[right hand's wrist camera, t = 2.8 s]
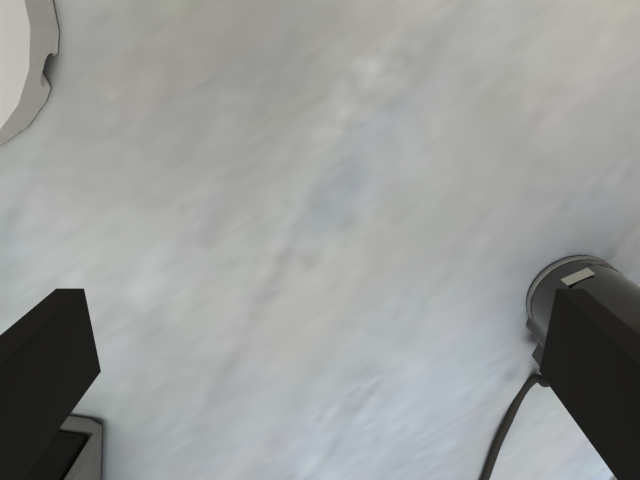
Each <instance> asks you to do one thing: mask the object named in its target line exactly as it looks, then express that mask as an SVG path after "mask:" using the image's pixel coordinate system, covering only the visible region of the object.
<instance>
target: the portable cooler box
mask: <svg viewBox="0 0 640 480" xmlns="http://www.w3.org/2000/svg"><path fill="white" fill-rule="evenodd" d="M101 460H102V425H100V424H98V423H96V422H95V421H93V420H91V419H87V418H81V417H74V416H68V417H67V419H66V420H65V422H64V423H63V424H62V426H61V427H60V428H59V430H58V431H57V433H56V434H55V435H54V437H53V438H52V439H51V441H50V442H49V444H48V445H47V446H46V448H45V449H44V451H43V452H42V453H41V455H40V456H39V457H38V459H37V460H36V462H35V463H34V464H33V466H32V467H31V469H30V470H29V471H28V473H27V474H26V475H25V477H24V478H23V480H101Z"/></svg>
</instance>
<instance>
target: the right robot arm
mask: <svg viewBox="0 0 640 480" xmlns="http://www.w3.org/2000/svg"><path fill="white" fill-rule="evenodd" d="M100 372H101V370H100V365H99V360H98V355H97V350H96V345H95V341H94V336H93V331H92V326H91V321H90V316H89V311H88V306H87V301H86V296H85V292H84V289H55V290H54V291H53V292H52V293H51V294H49V295H48V296H47V297H46V298H45V299H43V300H42V301H41V302H40V303H39V304H37V305H36V306H35V307H34V308H33V309H31V310H30V311H29V312H28V313H27V314H25V315H24V316H23V317H22V318H21V319H19V320H18V321H17V322H16V323H15V324H13V325H12V326H11V327H10V328H9V329H8V330H6V331H5V332H4V333H3V334H2V335H0V480H23V478H24V477H25V475H26V474H27V473H28V471H29V470H30V469H31V467H32V466H33V464H34V463H35V462H36V460H37V459H38V457H39V456H40V455H41V453H42V452H43V451H44V449H45V448H46V446H47V445H48V444H49V442H50V441H51V439H52V438H53V437H54V435H55V434H56V433H57V431H58V430H59V428H60V427H61V426H62V424H63V423H64V422H65V420H66V419H67V417H68V416H69V415H70V413H71V412H72V410H73V409H74V408H75V406H76V405H77V404H78V402H79V401H80V399H81V398H82V397H83V395H84V394H85V393H86V391H87V390H88V388H89V387H90V386H91V384H92V383H93V381H94V380H95V379H96V377H97V376H98V375H99V373H100ZM539 372H540V373H541V375H542V376H543V377H544V379H545V380H546V381H547V383H548V384H549V386H550V387H551V388H552V390H553V391H554V393H555V394H556V395H557V397H558V398H559V399H560V401H561V402H562V404H563V405H564V406H565V408H566V409H567V410H568V412H569V413H570V415H571V416H572V417H573V419H574V420H575V422H576V423H577V424H578V426H579V427H580V428H581V430H582V431H583V433H584V434H585V435H586V437H587V438H588V439H589V441H590V442H591V444H592V445H593V446H594V448H595V449H596V451H597V452H598V453H599V455H600V456H601V457H602V459H603V460H604V462H605V463H606V464H607V466H608V467H609V469H610V470H611V471H612V473H613V474H614V475H615V477H616V478H617V479H618V480H640V335H638V334H637V333H636V332H635V331H634V330H632V329H631V328H630V327H629V326H628V325H626V324H625V323H624V322H623V321H622V320H621V319H619V318H618V317H617V316H616V315H615V314H613V313H612V312H611V311H610V310H609V309H607V308H606V307H605V306H604V305H603V304H601V303H600V302H599V301H598V300H597V299H595V298H594V297H593V296H592V295H591V294H589V293H588V292H587V291H586V290H585V289H556V292H555V296H554V301H553V306H552V311H551V316H550V321H549V326H548V331H547V336H546V341H545V345H544V350H543V355H542V360H541V365H540V370H539Z"/></svg>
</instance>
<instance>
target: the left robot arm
mask: <svg viewBox="0 0 640 480" xmlns="http://www.w3.org/2000/svg"><path fill="white" fill-rule="evenodd" d="M556 289H585V290H586V291H587V292H588V293H589V294H591V295H592V296H593V297H594V298H595V299H597V300H598V301H599V302H600V303H601V304H603V305H604V306H605V307H606V308H607V309H609V310H610V311H611V312H612V313H613V314H615V315H616V316H617V317H618V318H619V319H621V320H622V321H623V322H624V323H625V324H626V325H628V326H629V327H630V328H631V329H632V330H634V331H635V332H636V333H637V334H638V335H640V287H639V286H638V285H637V284H635V283H634V282H632V281H631V280H629V279H628V278H626V277H625V276H623V275H622V274H621V273H620V272H618V271H617V270H615V269H614V268H613V267H612V266H611V265H609V264H608V263H606V262H605V261H603V260H601V259H598V258H595V257H591V256H573V257H568V258H565V259H562V260H560V261H558V262H556V263H554V264H552V265H550V266H549V267H548V268H546V269H545V270H544V271H543V272H542V273H541V274H540V275H539V276H538V277H537V278H536V280H535V281H534V282H533V284H532V286H531V288H530V290H529V293H528V297H527V311H528V315H529V317H530V318H529V321H528V323H527V325H526V326H527V328H528V329H529V330H530V332H531V333H532V334H533V335H534V337H535V338H536V339H537V340H538V342H539V343H538V345H537V347H536V349H535V350H534V352H533V354H532V356H533V358H534V359H535V360H536V362H537V363H538V365H539V366H540V365H541V360H542V355H543V350H544V345H545V341H546V336H547V331H548V326H549V321H550V316H551V311H552V306H553V301H554V296H555V292H556ZM537 382H538V383H539V384H540V385H541V386H543V387H549V384H548V383H547V381H546V380H545V379H544V377H543V376H542V375H541V374H534V375H533V376H531V377H530V378H529V379H527V381H526V382H525V384H524V385H523V387H522V388H521V390H520V391H519V393H518V394H517V396H516V397H515V399H514V400H513V402H512V404H511V406H510V408H509V410H508V413H507V415H506V417H505V419H504V421H503V424H502V426H501V428H500V430H499V432H498V434H497V436H496V439H495V441H494V443H493V446H492V449H491V452H490V454H489V457H488V460H487V463H486V466H485V469H484V472H483V475H482V477H481V480H489V478H490V476H491V473H492V470H493V467H494V464H495V461H496V459H497V456H498V453H499V450H500V448H501V445H502V443H503V441H504V438H505V436H506V434H507V432H508V430H509V428H510V426H511V424H512V422H513V419H514V417H515V415H516V413H517V411H518V408H519V406H520V404H521V402H522V400H523V398H524V397H525V395H526V393H527V392H528V391H529V389H530V388H531V387H532V386H533V385H534V384H535V383H537Z"/></svg>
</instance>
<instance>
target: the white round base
mask: <svg viewBox="0 0 640 480" xmlns="http://www.w3.org/2000/svg"><path fill="white" fill-rule="evenodd" d="M58 39H59V29H58V24H57V19H56V14H55V9H54V4H53V0H0V145H1V144H4V143H5V142H7V141H8V140H9V139H11V138H12V137H14V136H15V135H16V134H18V133H19V132H21V131H22V130H24V129H25V128H26V127H28V126H29V124H30V123H31V122H32V120H33V119H34V118H35V116H36V115H37V113H38V112H39V111H40V109H41V108H42V107H43V105H44V104H45V102H46V101H47V98H48V95H49V92H50V89H51V86H50V84H49V83H48V81H47V79H46V78H45V76H44V74H43V73H42V71H43V68H44V63H45V60H46V58H47V56H48V55H49V54H50V53H52V54H53V55H54V56H55V55H56V54H58Z"/></svg>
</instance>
